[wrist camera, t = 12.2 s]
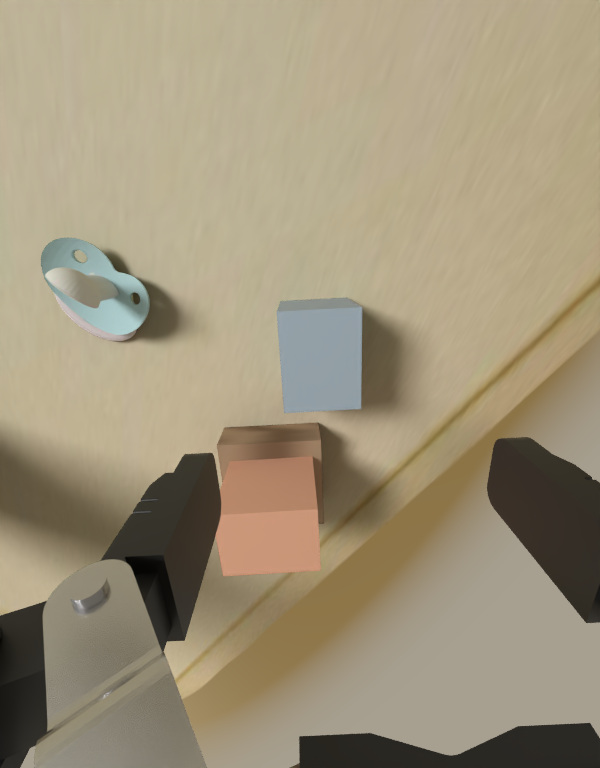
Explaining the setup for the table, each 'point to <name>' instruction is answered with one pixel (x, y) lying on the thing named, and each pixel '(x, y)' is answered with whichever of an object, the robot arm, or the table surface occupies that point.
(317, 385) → the brick slate
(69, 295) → the pacifier
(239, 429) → the base block
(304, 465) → the brick terracotta
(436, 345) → the table surface
